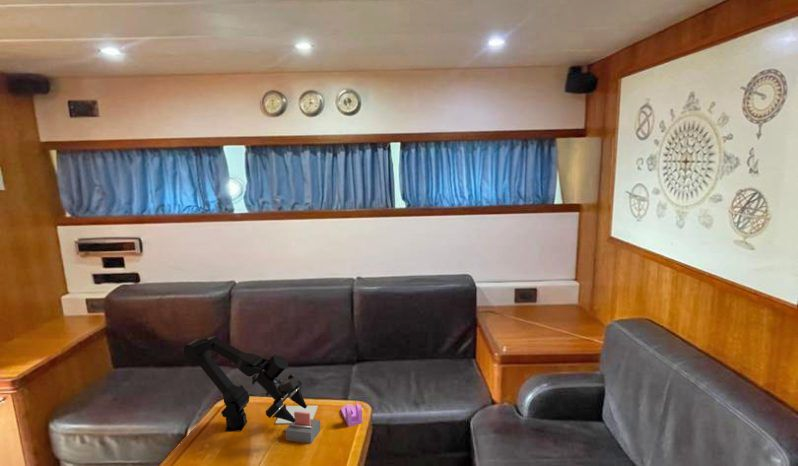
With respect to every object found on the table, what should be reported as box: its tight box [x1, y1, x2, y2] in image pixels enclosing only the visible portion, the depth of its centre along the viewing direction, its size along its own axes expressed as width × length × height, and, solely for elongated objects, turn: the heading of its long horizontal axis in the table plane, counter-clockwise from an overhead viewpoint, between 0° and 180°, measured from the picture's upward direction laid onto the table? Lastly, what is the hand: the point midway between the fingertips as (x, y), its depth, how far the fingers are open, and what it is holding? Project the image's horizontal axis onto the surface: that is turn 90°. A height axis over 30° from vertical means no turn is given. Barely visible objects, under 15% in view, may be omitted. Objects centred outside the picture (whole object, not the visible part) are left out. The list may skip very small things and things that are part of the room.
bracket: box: [340, 403, 363, 428], centre depth 177 cm, size 13×6×7 cm, turn 22°
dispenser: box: [285, 419, 321, 444], centre depth 166 cm, size 10×8×5 cm
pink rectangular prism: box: [294, 411, 311, 426], centre depth 165 cm, size 6×1×9 cm, turn 76°
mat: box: [274, 405, 319, 425], centre depth 179 cm, size 14×12×1 cm
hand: (300, 414), depth 165 cm, fingers open, 9 cm apart
